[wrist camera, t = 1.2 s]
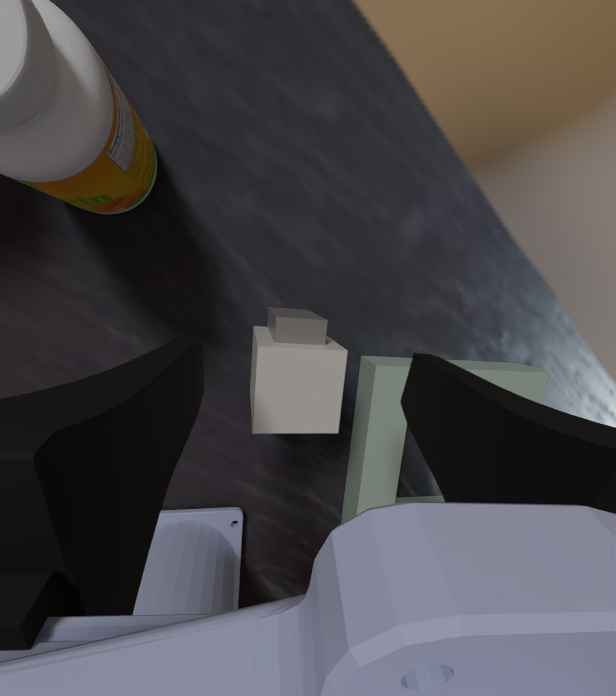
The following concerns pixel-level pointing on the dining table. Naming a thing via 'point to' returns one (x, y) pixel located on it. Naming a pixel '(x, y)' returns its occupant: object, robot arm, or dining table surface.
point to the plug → (296, 374)
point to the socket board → (405, 425)
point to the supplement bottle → (67, 115)
